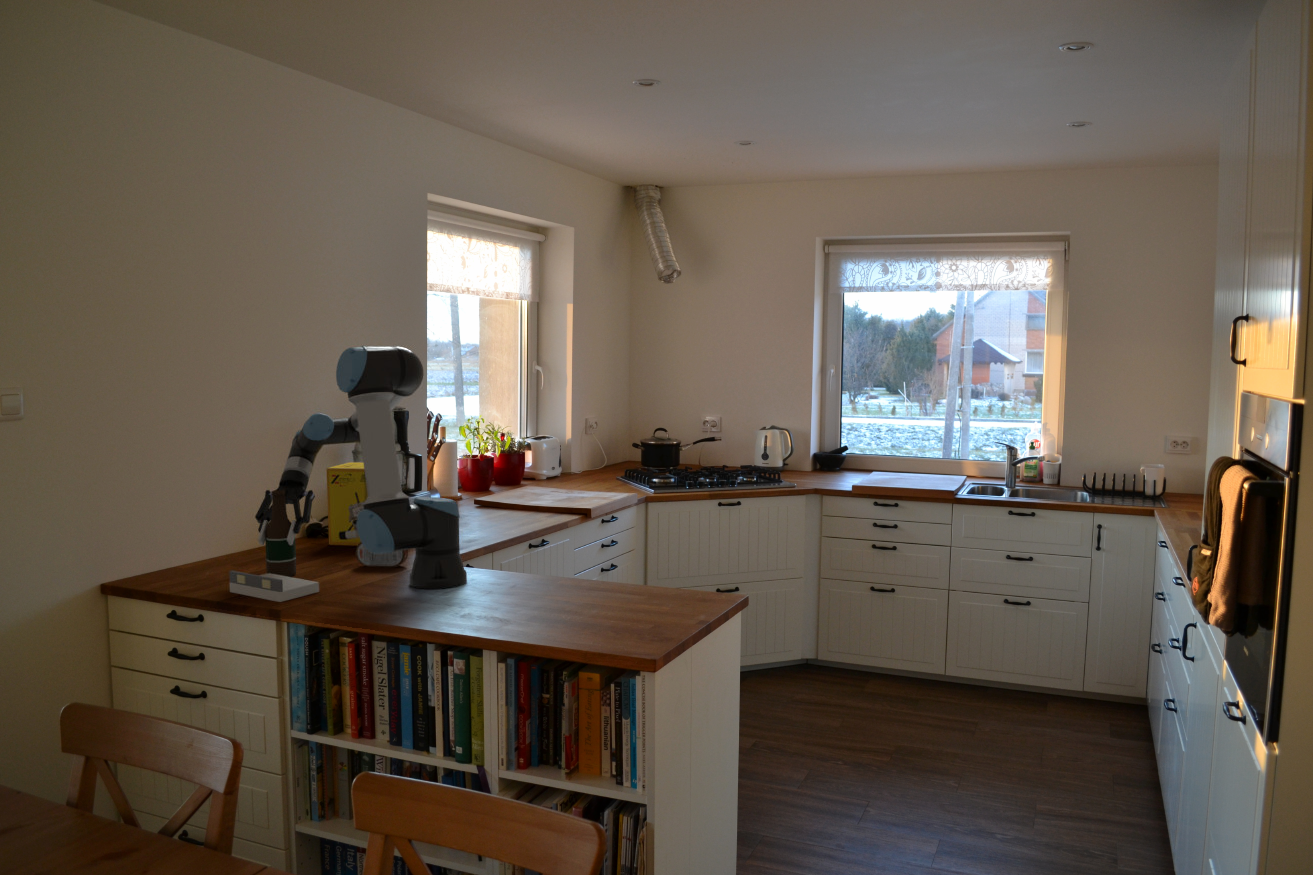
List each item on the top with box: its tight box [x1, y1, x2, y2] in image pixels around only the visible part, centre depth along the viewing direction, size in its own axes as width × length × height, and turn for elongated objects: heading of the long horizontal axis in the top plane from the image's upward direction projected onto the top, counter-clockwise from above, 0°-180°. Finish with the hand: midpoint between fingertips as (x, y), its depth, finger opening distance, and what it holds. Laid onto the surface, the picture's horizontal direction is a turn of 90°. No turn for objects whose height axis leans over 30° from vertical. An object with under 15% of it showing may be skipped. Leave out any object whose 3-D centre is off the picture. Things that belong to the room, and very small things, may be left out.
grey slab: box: [228, 570, 320, 603], centre depth 251 cm, size 20×12×6 cm, turn 59°
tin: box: [355, 542, 409, 568], centre depth 280 cm, size 15×3×8 cm, turn 84°
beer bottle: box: [264, 489, 297, 577], centre depth 269 cm, size 8×8×24 cm
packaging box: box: [326, 461, 368, 547], centre depth 317 cm, size 16×16×25 cm
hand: (275, 542), depth 266 cm, fingers closed on beer bottle, 7 cm apart
